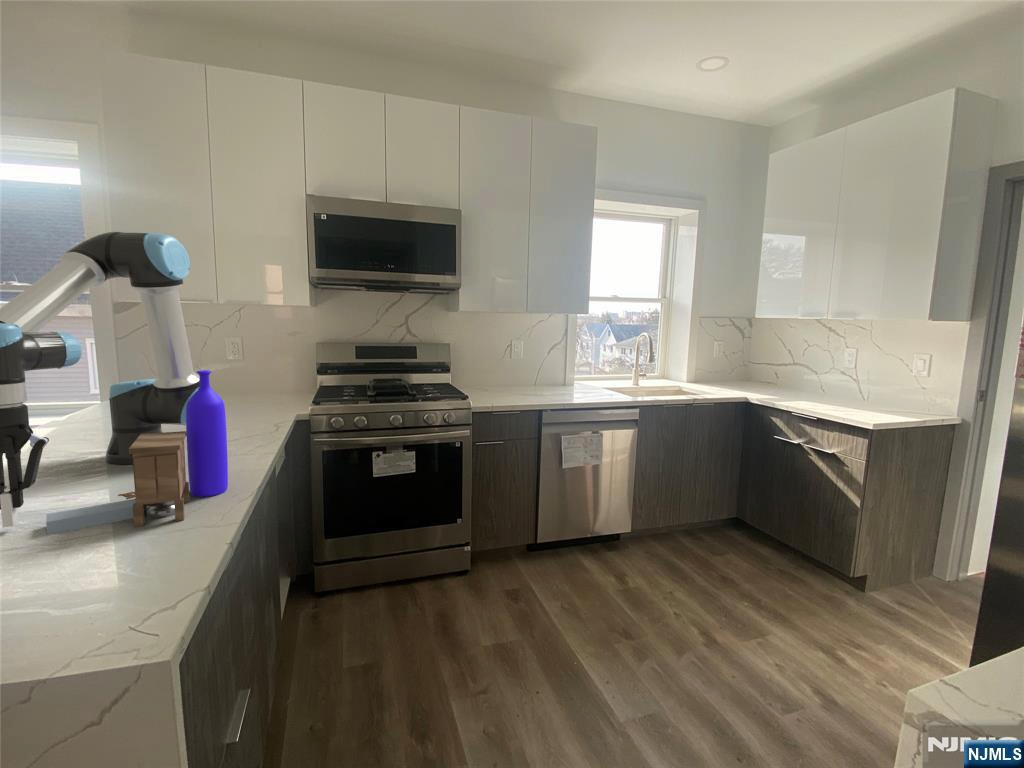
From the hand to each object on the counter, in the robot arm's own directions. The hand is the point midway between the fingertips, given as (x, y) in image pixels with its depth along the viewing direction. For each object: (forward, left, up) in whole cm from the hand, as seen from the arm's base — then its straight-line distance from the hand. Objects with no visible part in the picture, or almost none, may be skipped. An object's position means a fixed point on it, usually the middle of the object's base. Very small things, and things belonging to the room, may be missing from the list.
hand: (10, 523), depth 97 cm
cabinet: (0, +25, -2) cm, 25 cm away
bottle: (-11, +33, -2) cm, 34 cm away
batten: (0, +13, -2) cm, 13 cm away
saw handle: (-18, +25, -2) cm, 31 cm away
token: (0, +25, -2) cm, 25 cm away
